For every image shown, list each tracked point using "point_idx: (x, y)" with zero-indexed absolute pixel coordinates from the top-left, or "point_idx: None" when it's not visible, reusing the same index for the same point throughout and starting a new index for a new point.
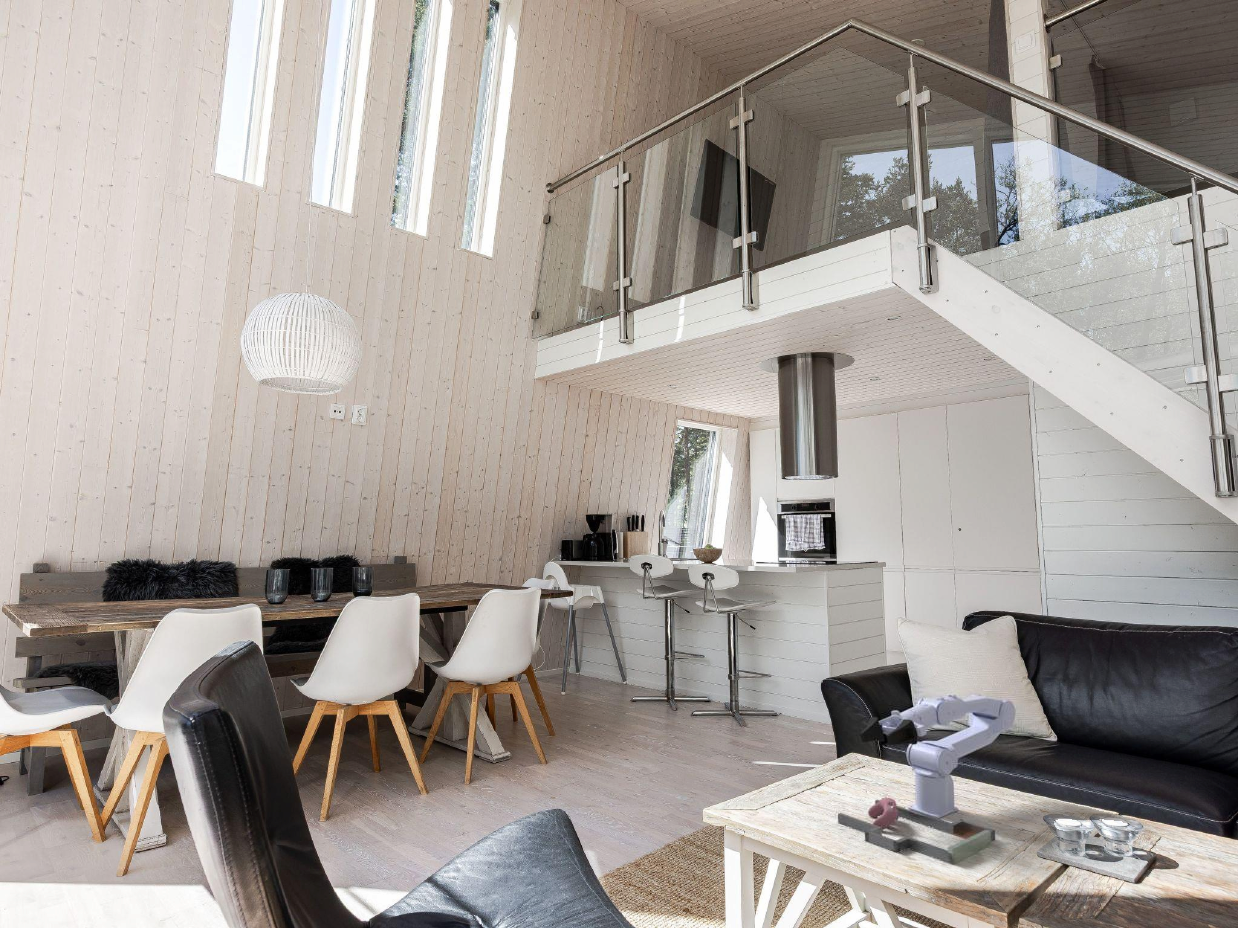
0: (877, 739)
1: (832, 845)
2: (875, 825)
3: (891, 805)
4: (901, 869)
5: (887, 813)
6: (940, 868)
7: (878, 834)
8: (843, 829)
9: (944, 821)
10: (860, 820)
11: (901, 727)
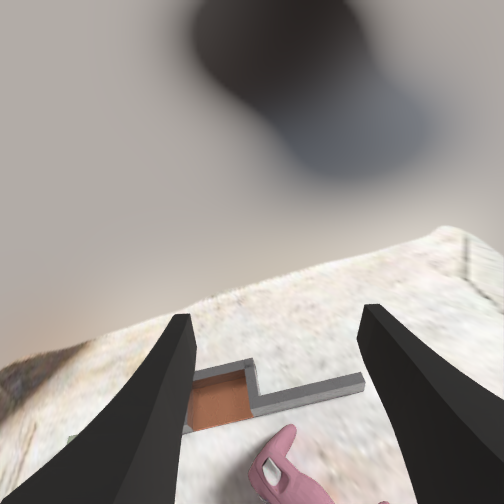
0: (409, 473)
1: (266, 305)
2: (266, 404)
3: (281, 488)
4: (148, 341)
5: (264, 447)
6: (101, 404)
7: (227, 371)
8: (319, 366)
9: None
10: (305, 393)
11: (112, 407)
